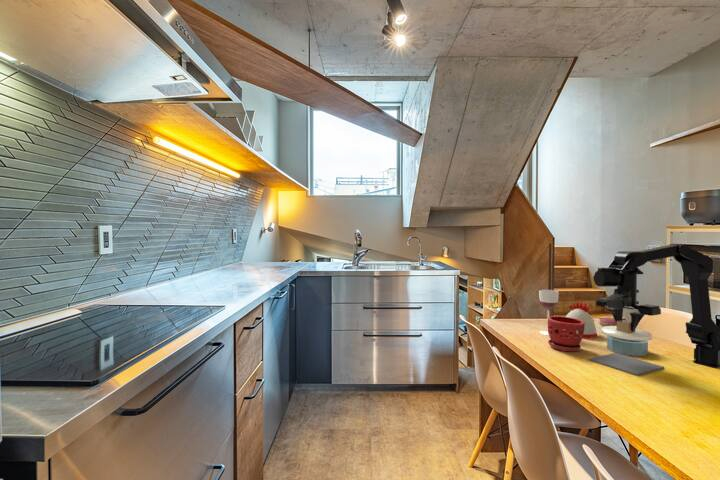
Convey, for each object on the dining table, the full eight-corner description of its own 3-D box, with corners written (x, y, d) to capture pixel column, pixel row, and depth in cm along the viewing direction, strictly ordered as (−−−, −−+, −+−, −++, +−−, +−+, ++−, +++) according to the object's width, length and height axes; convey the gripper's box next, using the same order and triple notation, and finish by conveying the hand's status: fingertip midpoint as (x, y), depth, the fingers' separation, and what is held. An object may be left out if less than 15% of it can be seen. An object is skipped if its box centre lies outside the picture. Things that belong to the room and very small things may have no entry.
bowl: (654, 353, 141) (655, 340, 141) (635, 357, 135) (635, 344, 135) (619, 343, 152) (619, 332, 152) (599, 347, 147) (600, 335, 147)
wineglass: (534, 332, 170) (534, 290, 170) (547, 330, 174) (547, 289, 173) (549, 336, 163) (550, 292, 163) (562, 334, 167) (562, 291, 166)
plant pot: (563, 354, 139) (563, 323, 139) (540, 344, 152) (540, 316, 152) (592, 352, 141) (592, 322, 141) (566, 342, 154) (567, 314, 154)
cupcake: (614, 330, 174) (614, 305, 173) (625, 335, 165) (625, 309, 165) (595, 330, 174) (595, 305, 174) (605, 335, 166) (605, 309, 166)
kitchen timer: (593, 339, 158) (594, 306, 158) (559, 334, 167) (559, 302, 167) (598, 333, 169) (599, 301, 169) (565, 328, 178) (565, 298, 178)
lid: (661, 337, 125) (661, 324, 125) (636, 342, 119) (636, 328, 119) (616, 327, 138) (616, 315, 138) (592, 331, 132) (592, 319, 132)
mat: (664, 368, 125) (664, 366, 125) (636, 375, 118) (637, 374, 118) (615, 354, 139) (615, 352, 139) (588, 360, 133) (588, 358, 133)
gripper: (586, 284, 133) (585, 326, 134) (642, 291, 116) (641, 339, 117) (605, 282, 138) (604, 323, 138) (662, 289, 121) (661, 335, 121)
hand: (625, 329), depth 129 cm, fingers closed on lid, 4 cm apart
